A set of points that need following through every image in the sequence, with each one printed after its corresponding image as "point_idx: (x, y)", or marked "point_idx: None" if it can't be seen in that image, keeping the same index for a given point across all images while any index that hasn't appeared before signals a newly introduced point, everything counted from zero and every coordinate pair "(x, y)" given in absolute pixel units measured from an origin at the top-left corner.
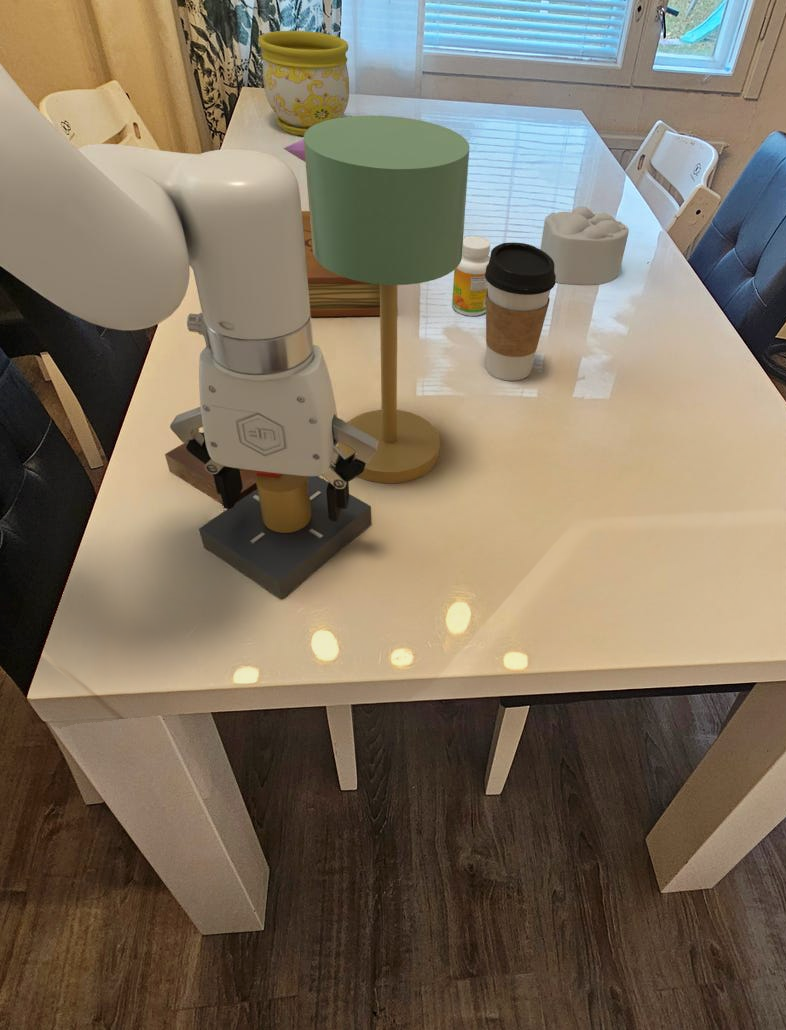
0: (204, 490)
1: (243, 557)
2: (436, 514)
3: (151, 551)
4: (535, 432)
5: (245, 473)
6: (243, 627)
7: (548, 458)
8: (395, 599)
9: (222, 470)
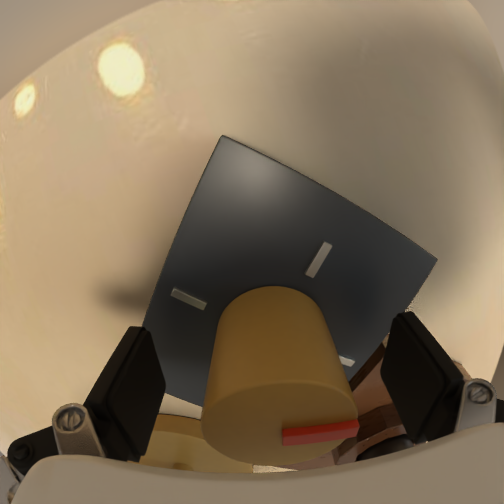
0: None
1: (333, 192)
2: (75, 368)
3: (473, 218)
4: None
5: (374, 397)
6: (278, 62)
7: (40, 427)
8: (48, 198)
9: (448, 399)
